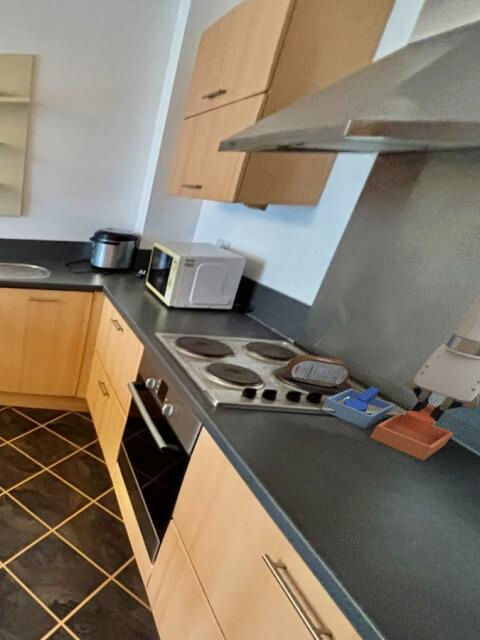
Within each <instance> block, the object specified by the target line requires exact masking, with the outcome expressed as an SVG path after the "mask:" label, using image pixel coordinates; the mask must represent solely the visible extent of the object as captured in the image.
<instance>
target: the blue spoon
mask: <svg viewBox="0 0 480 640" xmlns="http://www.w3.org/2000/svg"><path fill="white" fill-rule="evenodd" d="M379 392H380V388H378V387H374V386H372V385H371V386H370V387H369V388H367V389H366V390H365V391H363V392H361V393H362V394H361V395H360V396H358V397H357V399H356V398H349V399H346V400H345V401H344V403H343V404H344V405H346V406H349V407H351V408H354V409H356V410H359V411H361V412H364V413H365V412H366V410H367V408H368V403H369V402H371V401H372V400H373V399H374V398H377V396H378V394H379Z"/></svg>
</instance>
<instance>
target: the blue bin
mask: <svg viewBox="0 0 480 640" xmlns="http://www.w3.org/2000/svg"><path fill="white" fill-rule="evenodd" d="M362 393H363V392H361V391H359V390H356V389H354V388H348V389H346V390H343V391H341V392H339V393H336V394H334V395H331V396H329V397H327V398H326V399H325V401H324V403H323V404H322V406H326V407H328V408H331V409H333V410H335V411H336V412H335V414H334V413H332V412H329V411H327V410H324V409H321V408H320V411H322V412H324V413H327V414H329V415H332V416H334V417H336V418H339V419H341V420H343V421H346V422H348V423H350V424H352V425H355V426H358V427H360V428H363V429H367V428H369V427H370V426H373V425H374V424H376V423H378V422H380V421H382V420H383V419H385V418H388V416H385V417H384V418H383V416H384V415H385V414H387V413H389V412H390V411H391V412H392V410H393V409H394V408H395V406H396V404H394V403H392V402H389V401H385V400H384V399H383V400H382V399H380V398H378V397H376V398H374V399H373V400H372V401H371V402H369V403H368V404H370V405H373V406H376V407H379V408H382V409H381V410H379V411H377V412H375V413H373V414H371V415H369V414H366V413H364V412H361V411H359V410H356V409H354V408H351V407H349V406H346V405H344V404H341V403H339V402H337V401H340V400H342V399H344V398H346V397H348V396H349V397H350V398H356V399H357V397H358V396H360V395H361V394H362ZM391 412H390V413H391Z"/></svg>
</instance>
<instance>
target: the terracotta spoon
mask: <svg viewBox="0 0 480 640" xmlns="http://www.w3.org/2000/svg"><path fill="white" fill-rule="evenodd" d="M436 407H437V406H436V405H433V404H428V405H427V406H426V408H424V409H423V410H420V411H419V412H417V411H412V410H407V411H406V413H404V414H405V416H404V417H403V419H402V422H403V423H404V424H406V425H408V426H410V427H413V428H415V429H419V430H428V429H429V428H430V427H431V425H434V423H435V422H436V421H435V420H434V419H433V418H432V417H430V415H431V413H432V411H433V410H434V409H435V408H436Z"/></svg>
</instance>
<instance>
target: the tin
mask: <svg viewBox="0 0 480 640" xmlns="http://www.w3.org/2000/svg"><path fill="white" fill-rule="evenodd" d="M285 369H286V370H285V371H286V374H287V375H288V374H289V375H288V377H290V376H291V377H299V378H304V379H311V380H318V381H324V382H331V383H336V384H339V385H340V386H342V385H343V384H345V383H346V382H347V381H348V379H349V378H350V375H351V371H350V368H349V367H348V365H347V364H346V363H345V362H344V361H342V360H340V359H334V358H328V357H324V356H319V355H312V354H301V355H298V356H296V357H294V358H292V359H291V360H290V361H288V363H287V365H286V368H285ZM291 377H290V378H291Z"/></svg>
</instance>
